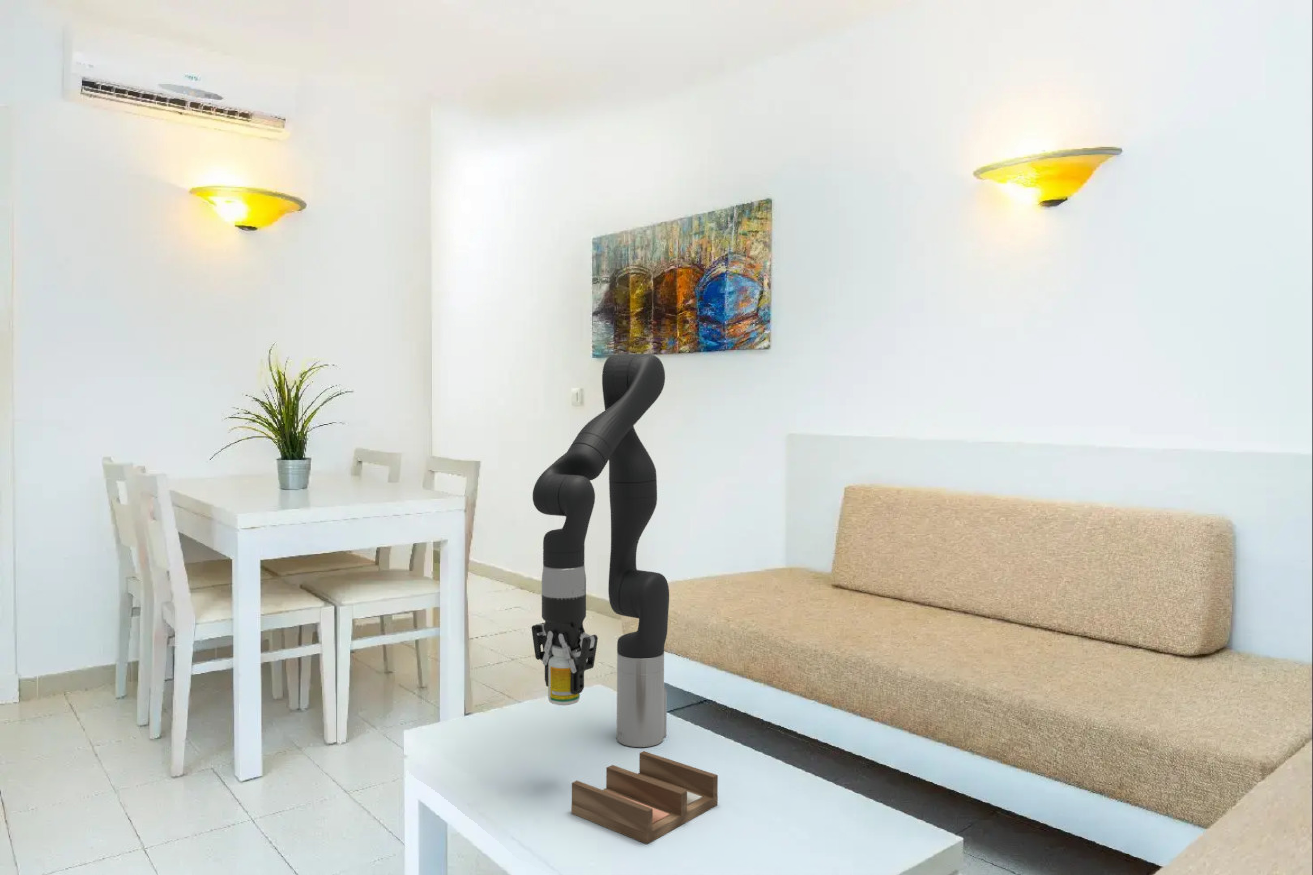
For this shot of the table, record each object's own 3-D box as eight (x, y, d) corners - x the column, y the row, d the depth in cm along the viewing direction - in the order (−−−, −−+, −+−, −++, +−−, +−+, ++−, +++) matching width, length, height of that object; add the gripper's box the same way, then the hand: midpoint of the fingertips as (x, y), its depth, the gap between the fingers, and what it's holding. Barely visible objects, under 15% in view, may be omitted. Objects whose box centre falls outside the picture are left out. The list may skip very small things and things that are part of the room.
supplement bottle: (544, 698, 162) (543, 643, 162) (573, 694, 165) (573, 639, 164) (554, 708, 157) (554, 651, 157) (584, 703, 160) (584, 647, 159)
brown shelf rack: (643, 778, 166) (644, 751, 166) (717, 804, 156) (717, 775, 155) (571, 813, 152) (571, 782, 152) (646, 844, 142) (647, 811, 142)
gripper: (610, 593, 158) (609, 693, 159) (550, 582, 168) (550, 676, 168) (578, 601, 153) (578, 704, 154) (518, 589, 162) (519, 686, 163)
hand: (564, 689), depth 161 cm, fingers closed on supplement bottle, 5 cm apart
